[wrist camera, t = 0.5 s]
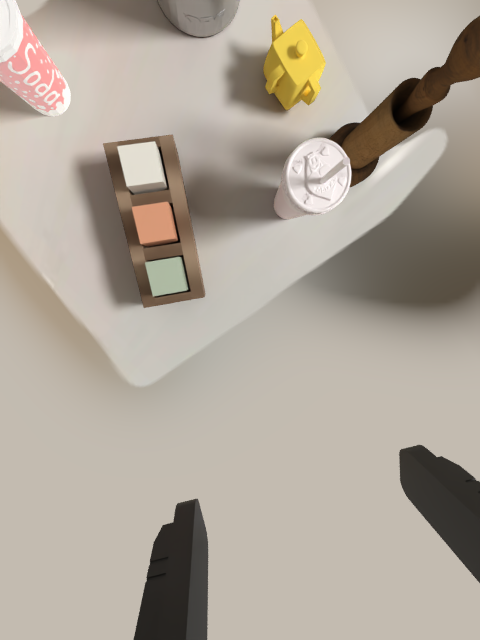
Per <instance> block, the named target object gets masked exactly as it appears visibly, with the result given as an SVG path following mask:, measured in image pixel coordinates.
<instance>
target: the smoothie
mask: <svg viewBox="0 0 480 640" xmlns="http://www.w3.org/2000/svg"><path fill="white" fill-rule="evenodd" d="M350 183H351V166H350V159H349V158H348V157H347V155H346V153H345V152H344V150H343V149H342V148H341V147H340V146H339V145H338V144H337V143H335V142H334V141H332V140H329V139H326V138H312V139H309V140H306V141H304V142H303V143H301V144H300V145H299V146H297V147H296V148H295V150H294V151H292V153H291V154H290V155H289V157H288V158H287V160H286V162H285V165H284V167H283V173H282V181H281V184H280V186H279V189H278V191H277V194H276V196H275V199H274V209H275V212H276V213H277V215H278V216H280V217H281V218H283V219H292V218H296V217H300V216H304V215H320V214H324V213H326V212H328V211H330V210H331V209H333V208H334V207H336V206H337V205H338V204H339V203H340V202H341V201H342V200H343V199H344V197H345V196H346V194H347V192H348V190H349V187H350Z"/></svg>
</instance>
